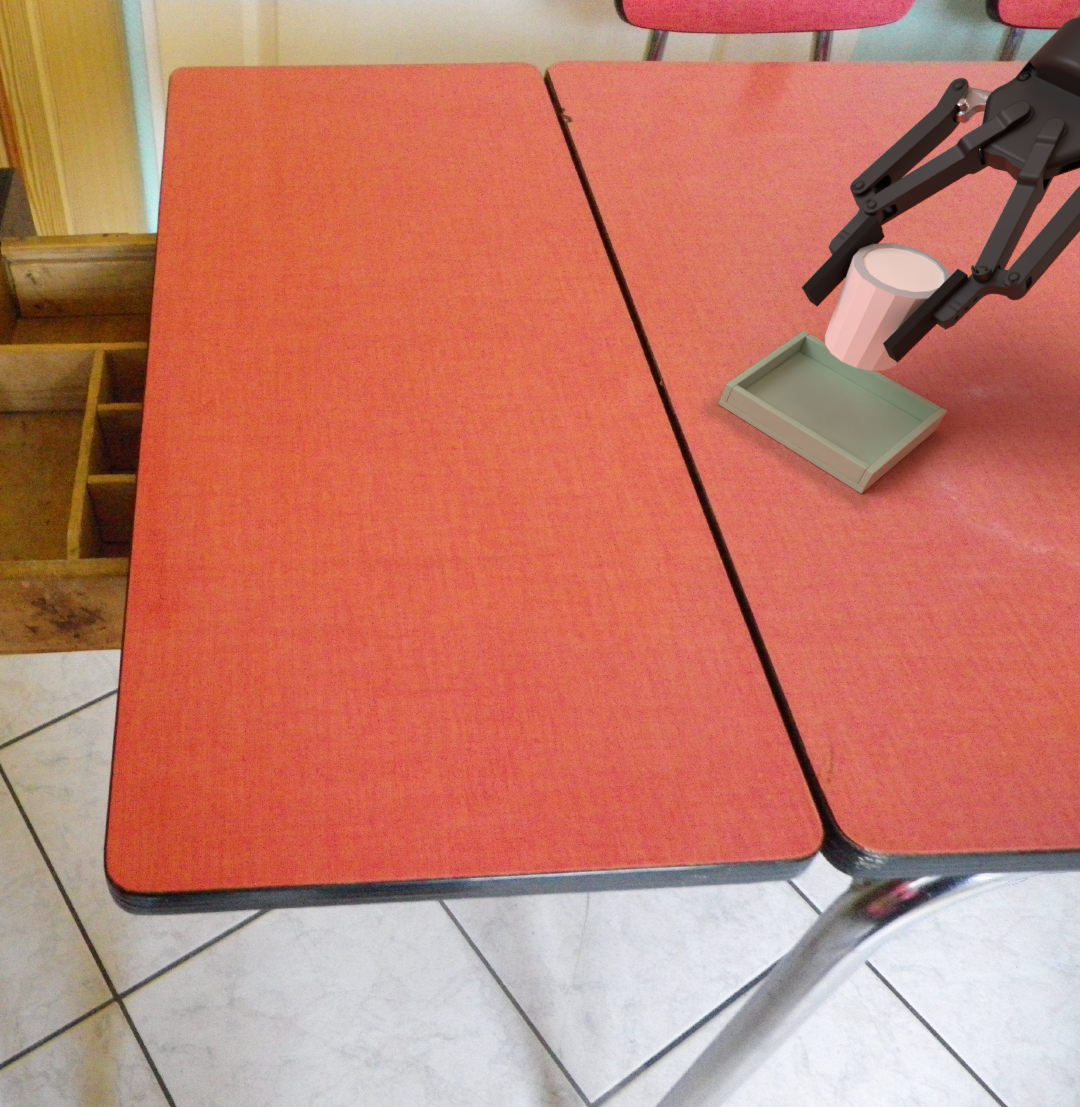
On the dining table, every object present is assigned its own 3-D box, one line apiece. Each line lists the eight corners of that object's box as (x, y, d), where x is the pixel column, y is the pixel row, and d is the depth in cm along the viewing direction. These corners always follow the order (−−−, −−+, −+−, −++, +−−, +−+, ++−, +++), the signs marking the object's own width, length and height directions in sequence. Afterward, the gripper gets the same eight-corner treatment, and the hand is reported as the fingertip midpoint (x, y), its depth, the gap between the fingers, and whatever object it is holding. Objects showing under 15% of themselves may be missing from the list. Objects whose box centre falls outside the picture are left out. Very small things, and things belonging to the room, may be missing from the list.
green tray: (934, 431, 82) (947, 410, 81) (861, 494, 77) (873, 473, 76) (794, 350, 89) (803, 330, 87) (717, 404, 84) (726, 383, 82)
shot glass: (848, 309, 81) (886, 230, 75) (927, 352, 77) (973, 274, 72) (798, 342, 78) (834, 263, 72) (878, 388, 74) (922, 309, 69)
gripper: (1261, 145, 64) (969, 420, 71) (994, 27, 75) (762, 275, 82) (1277, 79, 59) (957, 385, 65) (985, -39, 69) (736, 234, 76)
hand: (849, 324), depth 74 cm, fingers closed on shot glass, 7 cm apart
